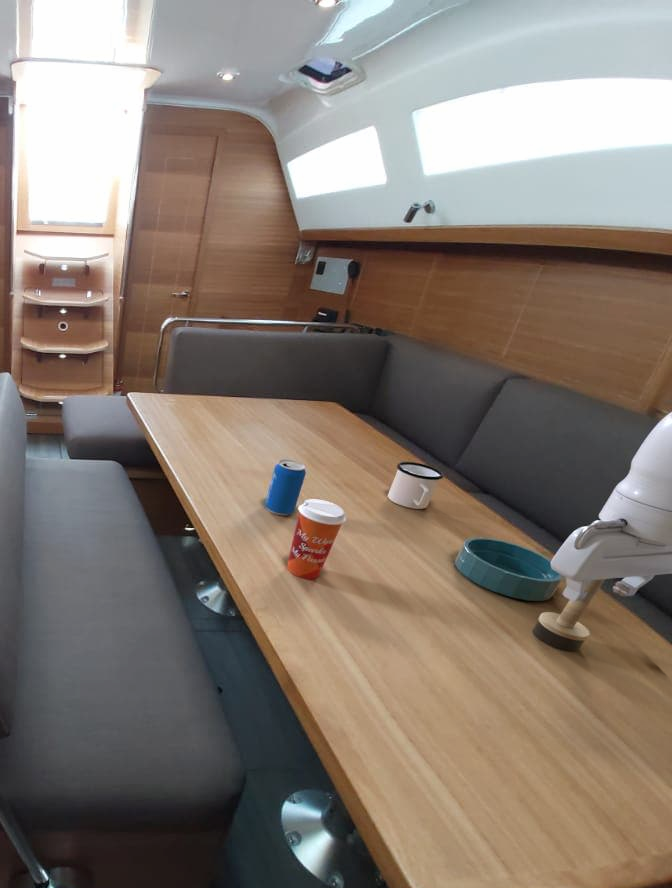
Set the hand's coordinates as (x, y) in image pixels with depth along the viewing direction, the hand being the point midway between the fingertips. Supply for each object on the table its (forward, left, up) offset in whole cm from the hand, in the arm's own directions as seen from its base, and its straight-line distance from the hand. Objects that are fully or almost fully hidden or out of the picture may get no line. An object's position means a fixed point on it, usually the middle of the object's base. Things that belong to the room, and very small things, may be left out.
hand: (596, 596), depth 76 cm
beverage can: (+41, -30, -10) cm, 52 cm away
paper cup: (+38, -5, -10) cm, 40 cm away
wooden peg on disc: (+1, -1, -10) cm, 10 cm away
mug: (+10, -48, -10) cm, 50 cm away
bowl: (+2, -18, -10) cm, 21 cm away
